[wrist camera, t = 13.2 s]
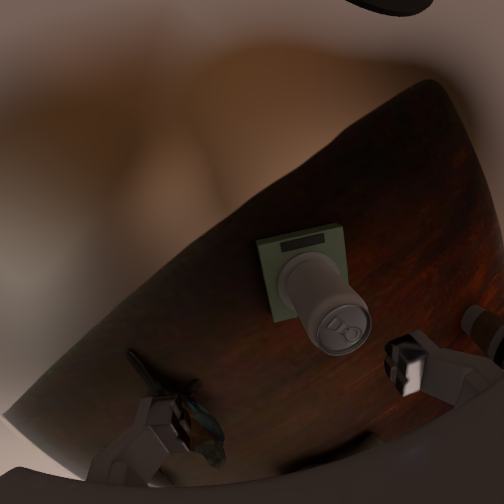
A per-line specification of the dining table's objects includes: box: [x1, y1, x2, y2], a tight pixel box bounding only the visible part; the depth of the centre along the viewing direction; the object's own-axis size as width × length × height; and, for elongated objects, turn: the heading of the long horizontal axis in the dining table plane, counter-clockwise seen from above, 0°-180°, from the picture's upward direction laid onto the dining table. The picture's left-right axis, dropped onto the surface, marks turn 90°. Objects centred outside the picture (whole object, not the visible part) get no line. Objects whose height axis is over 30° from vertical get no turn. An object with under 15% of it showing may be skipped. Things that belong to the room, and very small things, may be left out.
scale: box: [256, 223, 349, 323], centre depth 38 cm, size 11×11×3 cm
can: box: [287, 260, 372, 356], centre depth 31 cm, size 6×6×12 cm
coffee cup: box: [461, 305, 504, 370], centre depth 39 cm, size 8×8×15 cm
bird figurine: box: [126, 351, 226, 469], centre depth 38 cm, size 13×10×20 cm
